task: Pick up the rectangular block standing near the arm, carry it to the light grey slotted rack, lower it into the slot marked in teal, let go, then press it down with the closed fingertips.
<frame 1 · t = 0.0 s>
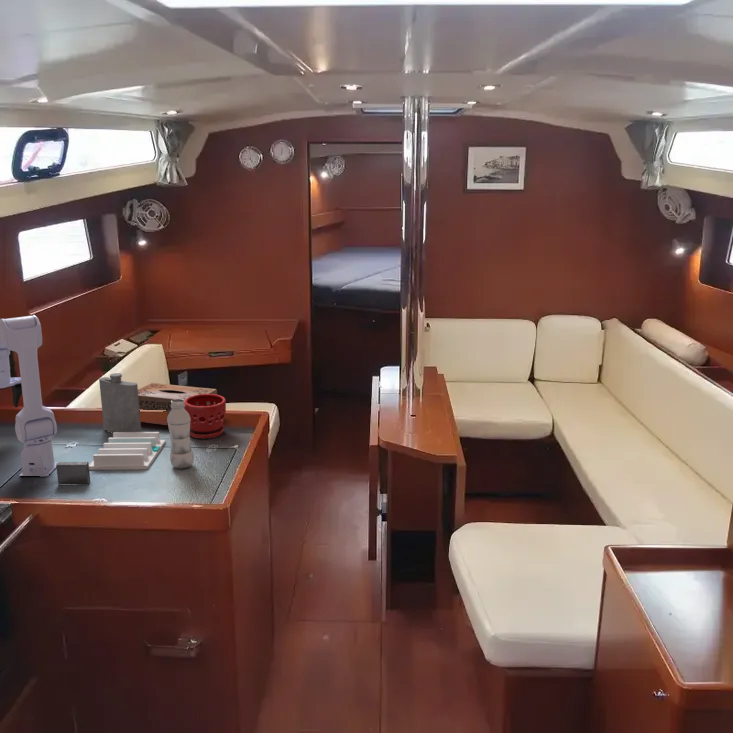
hand: (2, 408, 233), 11 cm above the table, tool pointing down, fingers open, 7 cm apart
plant pot: (206, 435, 241), on the table
rectangular block: (74, 483, 203), on the table
tissue box cover: (174, 420, 256), on the table
hip flask: (121, 433, 242), on the table
slot rack: (128, 455, 223), on the table
plastic bottle: (182, 467, 215), on the table
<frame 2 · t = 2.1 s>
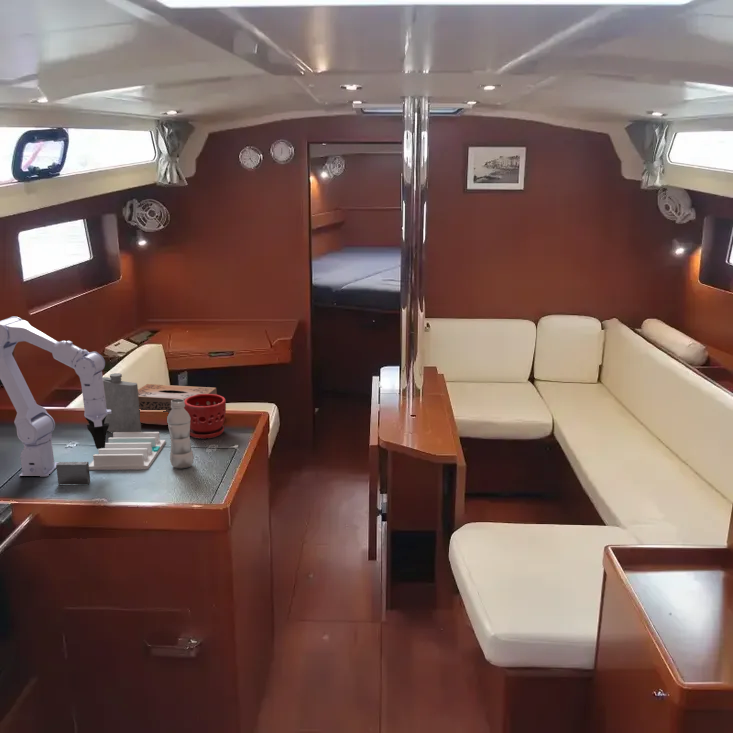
hand: (99, 443, 208), 9 cm above the table, tool pointing down, fingers open, 7 cm apart
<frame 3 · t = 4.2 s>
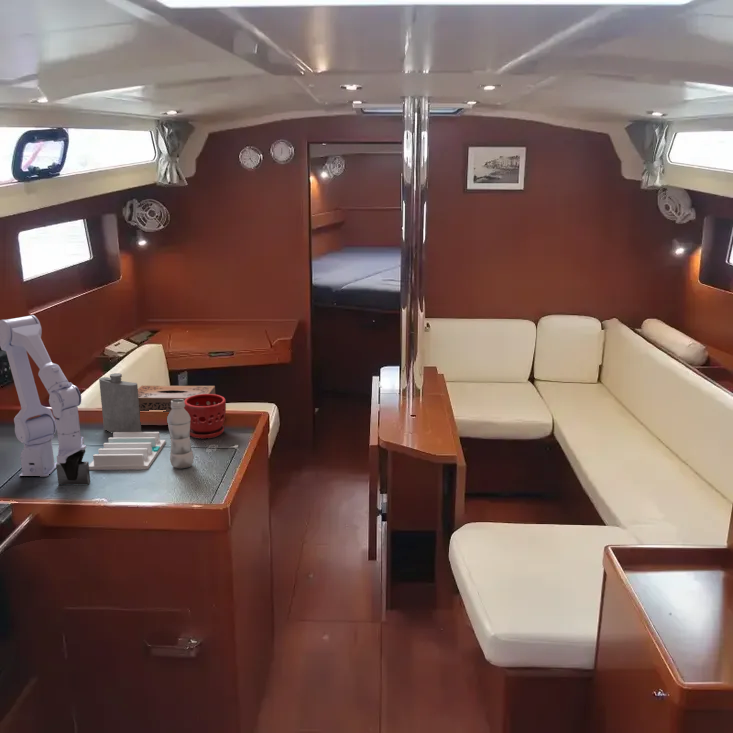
hand: (73, 477, 203), 2 cm above the table, tool pointing down, fingers closed on rectangular block, 2 cm apart
rectangular block: (74, 483, 203), on the table, touching gripper
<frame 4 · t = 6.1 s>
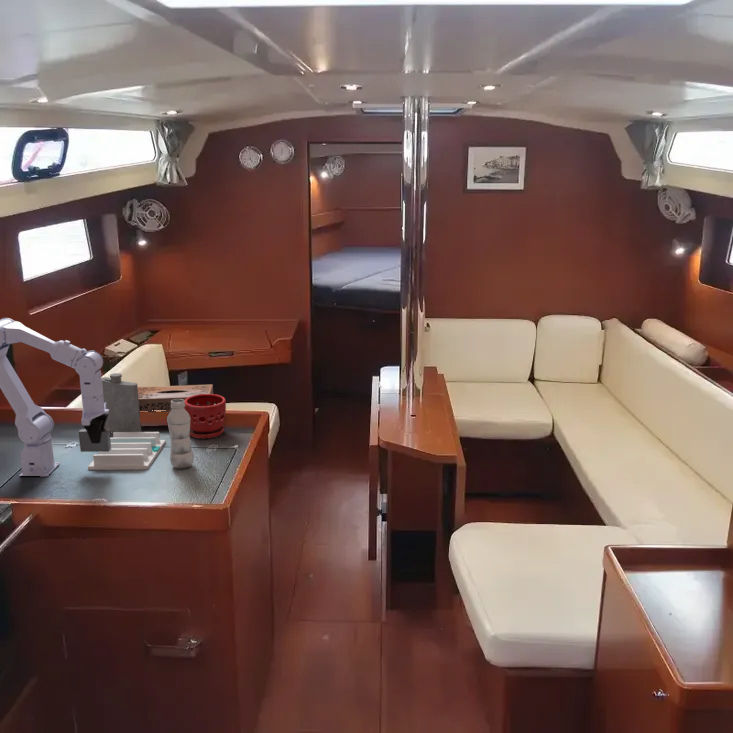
hand: (97, 441, 210), 9 cm above the table, tool pointing down, fingers closed on rectangular block
rectangular block: (96, 450, 211), point 6 cm above the table, touching gripper
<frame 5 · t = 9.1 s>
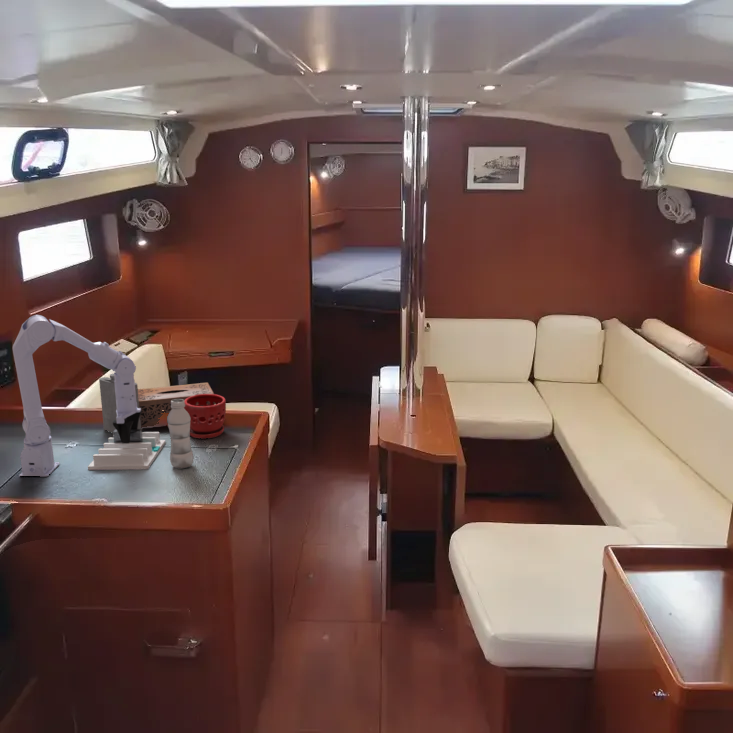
hand: (129, 438, 224), 5 cm above the table, tool pointing down, fingers open, 7 cm apart
rectangular block: (129, 449, 225), point 1 cm above the table, touching slot rack
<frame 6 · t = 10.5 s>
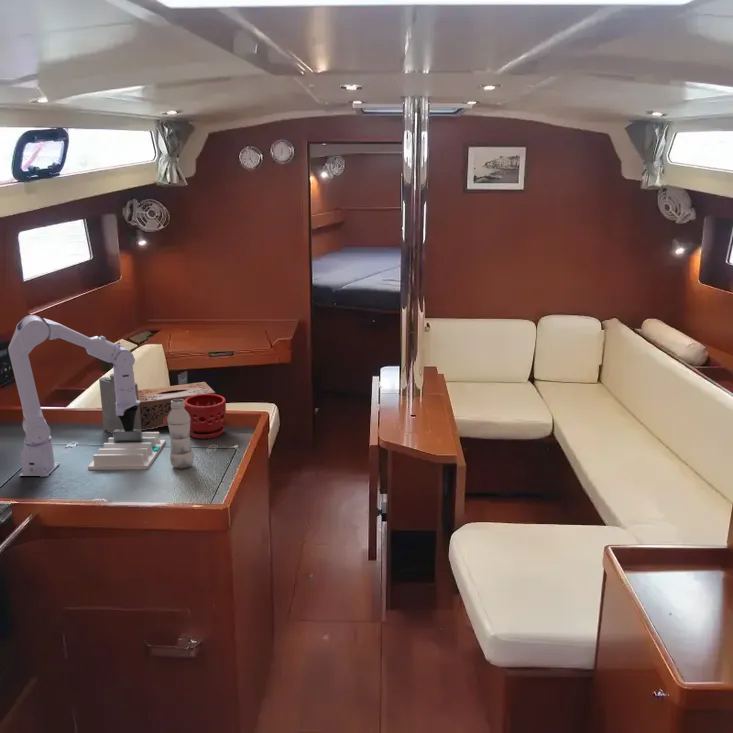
hand: (129, 430, 223), 7 cm above the table, tool pointing down, fingers closed, pressing on rectangular block
rectangular block: (129, 449, 225), point 1 cm above the table, touching gripper, slot rack
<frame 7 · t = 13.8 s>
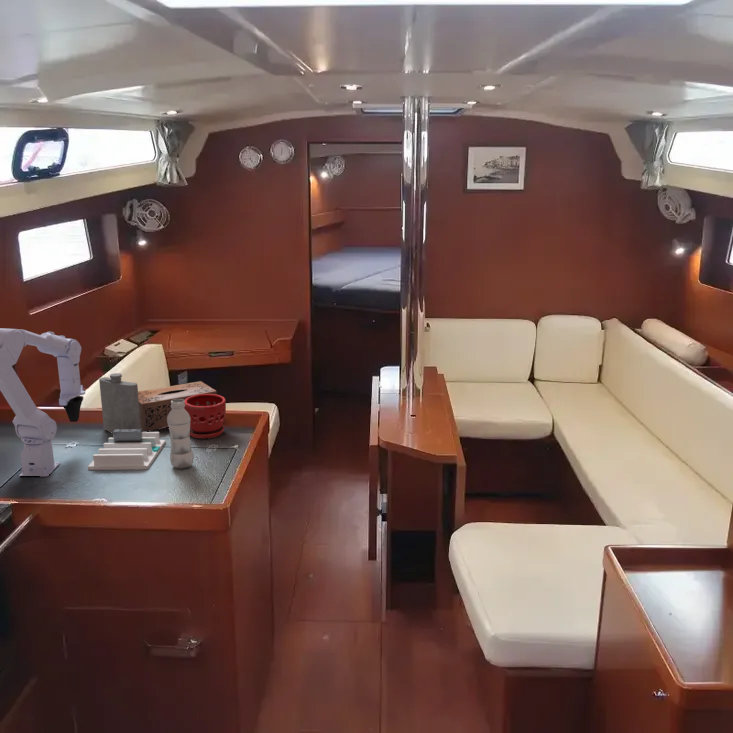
hand: (74, 421, 225), 9 cm above the table, tool pointing down, fingers closed
rectangular block: (129, 449, 225), point 1 cm above the table, touching slot rack
at the end: rectangular block 0.4 cm from the target spot on the slot rack, point 1.2 cm above the slot rack's base; rectangular block tilted 0°; the gripper is holding nothing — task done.
